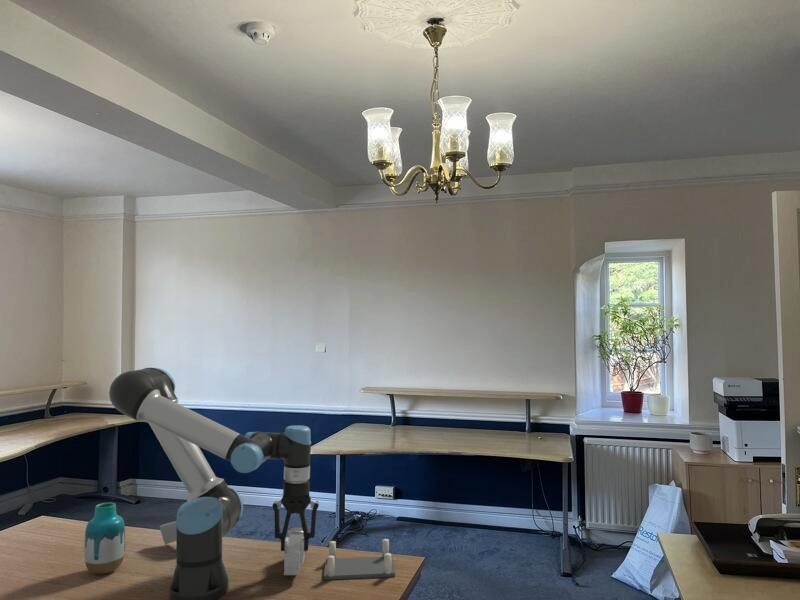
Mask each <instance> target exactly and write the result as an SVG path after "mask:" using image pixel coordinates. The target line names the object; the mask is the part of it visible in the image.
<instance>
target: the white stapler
mask: <svg viewBox="0 0 800 600" xmlns="http://www.w3.org/2000/svg"><path fill="white" fill-rule="evenodd" d="M159 529H160V530H159V531H160V533H161V536H162V540H163V543H164V545H167V544H168V545H169V544H171V543H174V542H176V520H175V521H170V522H167V523H164V524H162V525H159Z"/></svg>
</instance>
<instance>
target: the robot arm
mask: <svg viewBox="0 0 800 600" xmlns="http://www.w3.org/2000/svg"><path fill="white" fill-rule="evenodd" d="M175 391H176V383H175V380H174V378H173V376H172V375H171V374H170V373H169V372H168V371H167V370H165V369H162V368H157V367H144V368H141V369H136V370H128V371H125V372H121V374H119V375H118V376H116V377H115V378H114V380H113V381H112V382H111V384H110V387H109V391H108V395H109V400H110V403H111V404H112V406H113V407H114V408H115V410H117V411H118V412H119V413H121V414H123V415H124V416H127V417H129V418H131V419H132V420H134V421H137V422H140V423H142V422H145V423H148V424H149V426H150V428H151V430H152V431H153V433H154V435H155V437H156V438H157V440H158V441H159V443H160V446H161V447H162V449H163V451H164V452H165V454H166V456H167V457H168V459H169V461H170V463H171V465H172V466H173V467H172V468H174V470H175V472H176V474H177V475H178V477H179V479H180V480H181V482H182V484H183V486H184V488H185V490H186V491H187V493H188V497H187V500H186V502H184V503H183V504H181V505H180V506H179V508H178V510H177V513H176V520H175V521H176V541H175V542H176V543H175V545H176V562H175V563H176V565H175V569H174V570H173V571H174V572H173V576H172V578H171V581H170V583H169V588H168V597H169V600H217V599H219V598H221V597H222V596H224V595H225V594H226V593H227V592H228V591H229V588H230V587H229V585H230V584H229V582H230V580H229V576H228V573H227V570H226V567H225V563H224V561H223V537H224V536H225V535H226V534H228V532H229V531H230V530H231V529H233V528H234V527H235V526H236V525H237V524H238V522H239V520H240V519H241V517H242V515H243V511H244V502H243V498H242V496H241V495H240V493H239V492H238V491H237V490H236V489H234V488H232V487H230V486H229V485H228V483H226V481H225V479H224V478H220V477H218V476H216V474H215V472H214V471H213V469H212V468H211V465H210V464H209V462H208V461H207V459H206V457H205V455H204V453H203V451H202V450H201V449H203V450H206V451H207V452H210V453H212V454H214V455H216V456H217V457H220V458H222V459H224V460H226V461H228V462H230V464H231V466H232V467H233V469H234V470H235V471H236V472H238V473H241V474H247V473H248V474H249V473H251V472H253V471H255V470H257V469H258V468H260V467H261V465H262V464H263V463H265V462H266V461H267V460H283V480H284V481H283V484H282V485H283V488H282V489H283V490H282V497H281V499H280V500H277V501H276V500H274V501H273V503H272V509H273V511H274V538H275V539H279V540H280V552H284V555H283V556H284V558H283V560H284V559H285V550H286V547H287V544H288V539H289V537H288V536H287V535H288V530H289V525H290V520H291V517H292V514H299V519H300V523H301V528H302V530H303V535H304V537H302V541H301V565H303V564H304V563H305V562H304V561H305V553H304V551H308V550H309V540H310V539H313V538H315V535H316V524H317V523H316V522H317V512H318V511H317V510H318V509H319V506H320V502H319V500H316V501H315V500H312V498H311V495H310V486H311V484H310V483H311V481H310V478H311V451H312V450H311V449H312V448H311V447H312V441H311V438H312V436H311V435H312V434H311V429H310V427H308V426H306V425H301V424H300V425H298V424H297V425H289V426H286V427H285V429H284V432H269V431H267V432H265V431H264V432H263V431H249V432H246V433H245V434H244V435H243V434H241V433H239V432H237V431H236V430H233V429H231V428H229V427H226V426H225V425H222V424H220V423H219V422H216V421H214V420H212V419H210V418H208V417H206V416H204V415H202V414H200V413H198V412H196V411H194V410H192V409H190V408H188V407H186V406H183V405H182V404H179V399H178V397H177V395H176V394H175ZM309 505H310V509H311V522H310V523H311V524H310V532H309V529H308V523H307V517H306V516H307V515H306V511H305V510H307V508H308V507H309ZM282 506H283V507H284V509H285V511H286V514H285V519H284V523H283V527H282V531H281V507H282Z"/></svg>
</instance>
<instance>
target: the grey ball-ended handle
mask: <svg viewBox="0 0 800 600" xmlns="http://www.w3.org/2000/svg"><path fill="white" fill-rule="evenodd" d="M287 537H289V539H288V544H287V547H286V550H285V551H284V553H285V559H284V558H283V564H284V566H283V567H284V568H283V576H299V575H300V571H301V566H302V564H301V541H302V537H304V535H303V530H302V527H301V526H300V527H291V528H290V529H289V528H288V530H287ZM307 551H308V550H307ZM307 551H304V554H306V553H307Z"/></svg>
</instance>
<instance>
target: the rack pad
mask: <svg viewBox="0 0 800 600" xmlns="http://www.w3.org/2000/svg"><path fill="white" fill-rule="evenodd" d="M381 546H382V547H381V549H382V551H381V553H382V555H381V556H362V557H361V556H360V557H338V558H337V557H336V556H337V552H336V551H337V541H334V540H330V541H329V542H328V556H327V558H325V564H324V570H323V580H325V581H327V580H348V579H349V580H351V579H371V578H372V577H374V578H389V577H390V578H393V577H394V578H395V577H396V570H395V565H394V558H393V556H392V554H391V553H390V539H388V538H384V539H382V541H381Z"/></svg>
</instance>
